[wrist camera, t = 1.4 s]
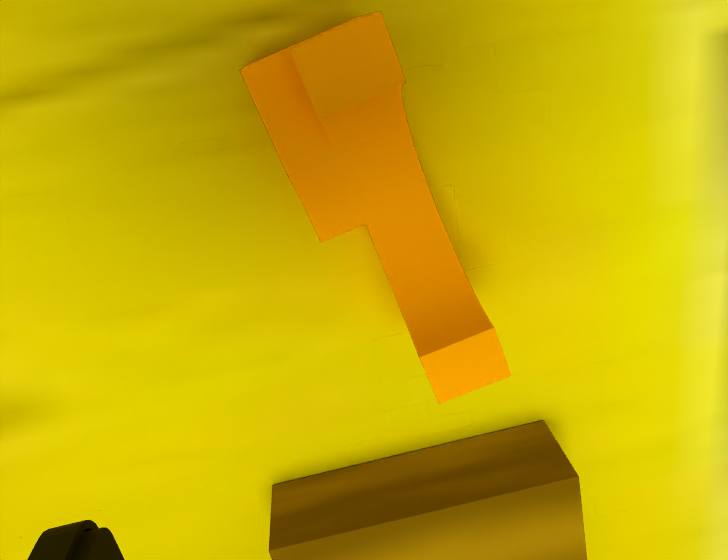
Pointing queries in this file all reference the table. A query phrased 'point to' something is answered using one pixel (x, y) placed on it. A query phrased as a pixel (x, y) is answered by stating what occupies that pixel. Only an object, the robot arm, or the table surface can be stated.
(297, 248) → the table surface
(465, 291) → the pipe clamp
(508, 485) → the walnut block
